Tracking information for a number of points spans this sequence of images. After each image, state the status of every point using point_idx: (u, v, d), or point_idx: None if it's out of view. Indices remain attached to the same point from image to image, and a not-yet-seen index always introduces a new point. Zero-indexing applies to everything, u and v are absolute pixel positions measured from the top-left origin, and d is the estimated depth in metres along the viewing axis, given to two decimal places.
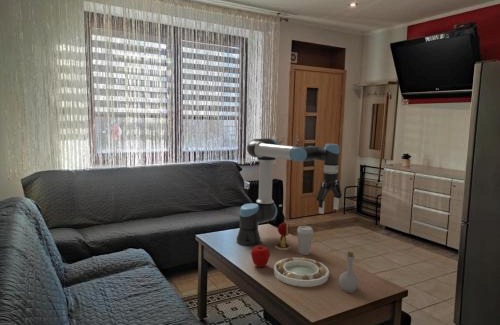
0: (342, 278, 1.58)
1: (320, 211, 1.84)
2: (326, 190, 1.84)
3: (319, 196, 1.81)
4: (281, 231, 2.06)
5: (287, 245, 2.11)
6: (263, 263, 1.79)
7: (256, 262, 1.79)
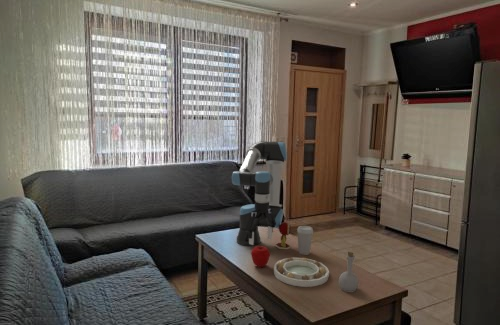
0: (342, 278, 1.58)
1: (250, 242, 1.76)
2: (256, 220, 1.76)
3: (248, 227, 1.73)
4: (282, 230, 2.07)
5: (287, 245, 2.11)
6: (263, 263, 1.79)
7: (256, 262, 1.79)
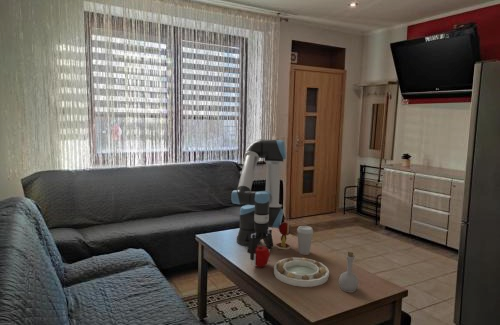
0: (342, 278, 1.58)
1: (252, 263, 1.79)
2: (256, 241, 1.78)
3: (249, 249, 1.76)
4: (282, 230, 2.07)
5: (287, 245, 2.11)
6: (263, 263, 1.79)
7: (256, 262, 1.79)
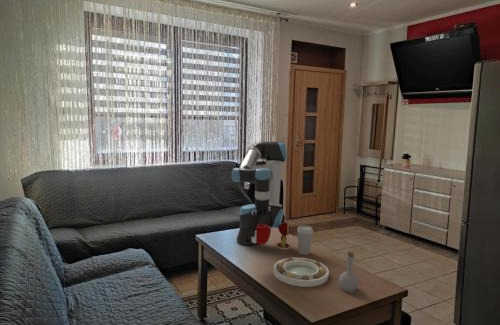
0: (342, 278, 1.58)
1: (253, 240, 1.78)
2: (257, 218, 1.77)
3: (250, 226, 1.75)
4: (282, 231, 2.06)
5: (287, 245, 2.11)
6: (264, 240, 1.78)
7: (257, 239, 1.78)
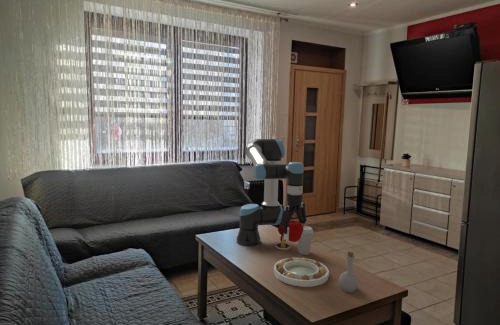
0: (342, 278, 1.58)
1: (285, 238, 1.70)
2: (290, 214, 1.69)
3: (282, 222, 1.67)
4: (281, 231, 2.07)
5: (287, 245, 2.11)
6: (297, 237, 1.69)
7: (289, 236, 1.70)
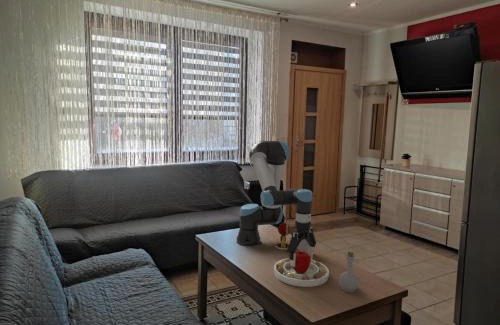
0: (342, 278, 1.58)
1: (291, 264, 1.69)
2: (298, 241, 1.69)
3: (289, 248, 1.66)
4: (281, 231, 2.07)
5: (287, 245, 2.11)
6: (304, 269, 1.70)
7: (297, 268, 1.70)
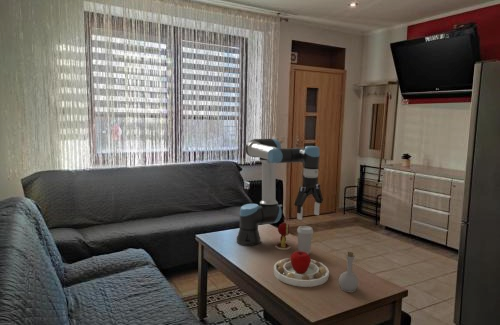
0: (342, 278, 1.58)
1: (299, 217, 1.75)
2: (305, 195, 1.75)
3: (297, 201, 1.72)
4: (281, 231, 2.07)
5: (287, 245, 2.11)
6: (304, 269, 1.70)
7: (297, 268, 1.70)
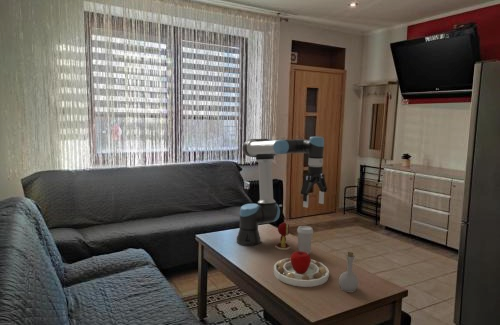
0: (342, 278, 1.58)
1: (305, 205, 1.81)
2: (310, 183, 1.81)
3: (303, 189, 1.78)
4: (281, 231, 2.07)
5: (287, 245, 2.11)
6: (304, 269, 1.70)
7: (297, 268, 1.70)
